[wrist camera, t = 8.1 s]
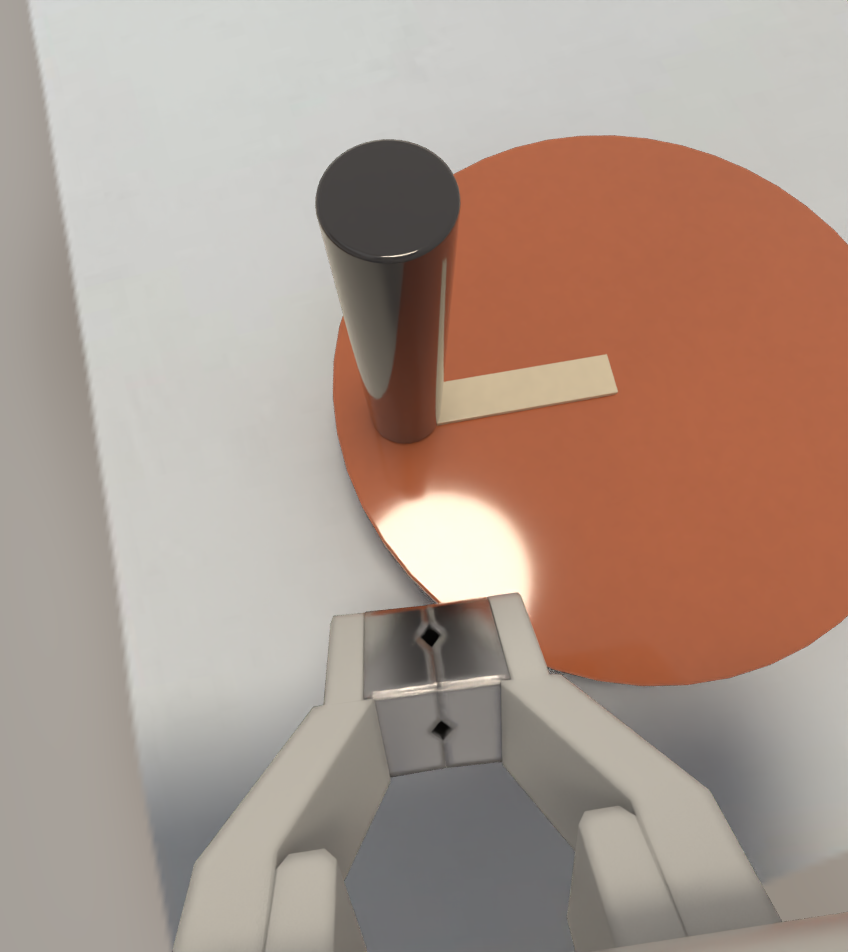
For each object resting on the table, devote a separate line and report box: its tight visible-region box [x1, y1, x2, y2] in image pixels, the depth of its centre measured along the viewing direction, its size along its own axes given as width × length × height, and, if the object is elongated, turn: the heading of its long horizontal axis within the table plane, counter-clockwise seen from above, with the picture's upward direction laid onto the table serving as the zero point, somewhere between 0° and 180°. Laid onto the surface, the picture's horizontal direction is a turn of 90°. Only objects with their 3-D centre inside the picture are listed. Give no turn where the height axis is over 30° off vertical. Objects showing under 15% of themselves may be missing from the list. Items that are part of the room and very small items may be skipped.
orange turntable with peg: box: [315, 135, 848, 686], centre depth 12 cm, size 17×17×9 cm
